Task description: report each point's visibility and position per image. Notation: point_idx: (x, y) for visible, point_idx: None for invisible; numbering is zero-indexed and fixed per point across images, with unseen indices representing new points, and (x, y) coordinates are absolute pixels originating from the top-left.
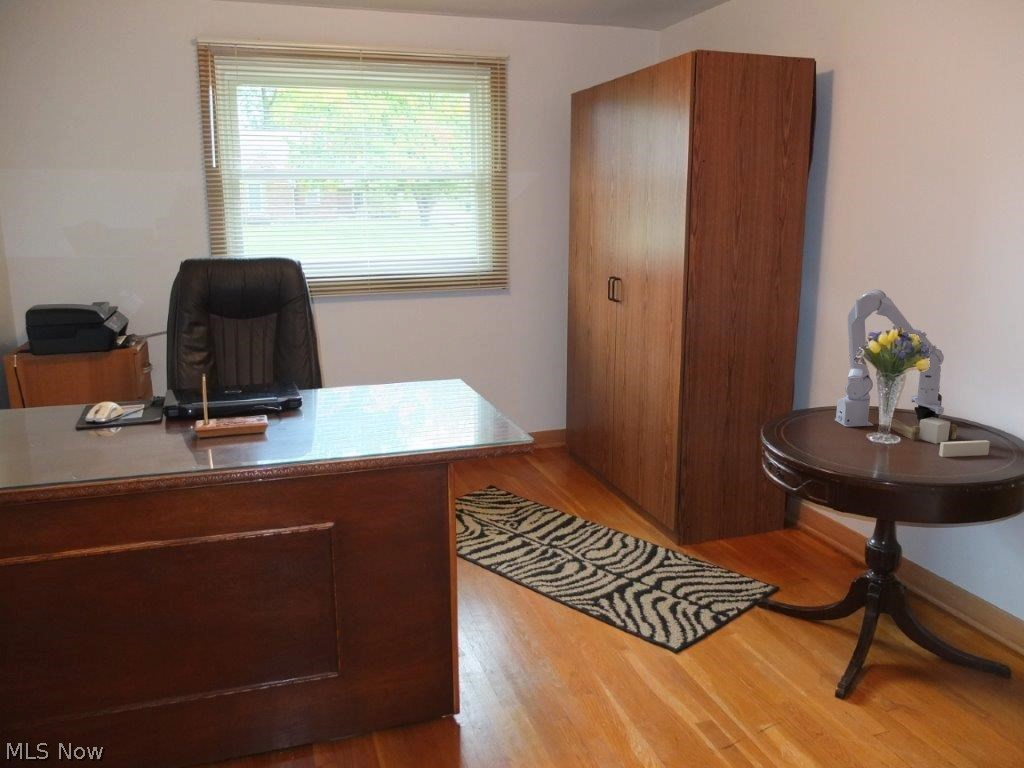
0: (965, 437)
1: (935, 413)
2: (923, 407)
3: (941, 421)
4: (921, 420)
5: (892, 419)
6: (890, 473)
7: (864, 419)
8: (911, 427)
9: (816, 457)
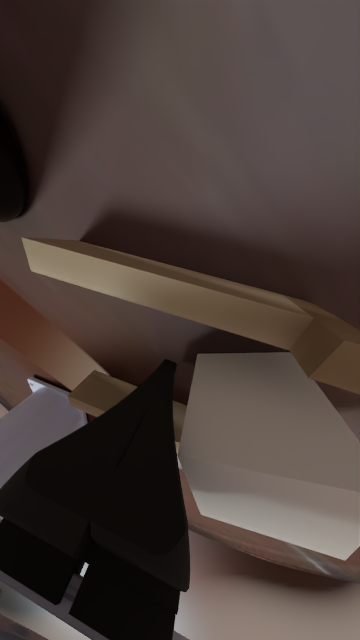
0: (341, 200)
1: (180, 502)
2: (81, 568)
3: (310, 508)
4: (210, 516)
5: (79, 408)
6: (339, 566)
7: (67, 426)
8: (175, 442)
9: (211, 531)
